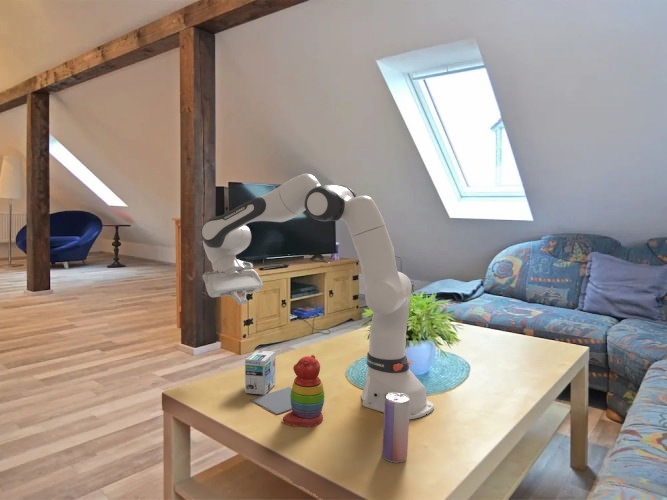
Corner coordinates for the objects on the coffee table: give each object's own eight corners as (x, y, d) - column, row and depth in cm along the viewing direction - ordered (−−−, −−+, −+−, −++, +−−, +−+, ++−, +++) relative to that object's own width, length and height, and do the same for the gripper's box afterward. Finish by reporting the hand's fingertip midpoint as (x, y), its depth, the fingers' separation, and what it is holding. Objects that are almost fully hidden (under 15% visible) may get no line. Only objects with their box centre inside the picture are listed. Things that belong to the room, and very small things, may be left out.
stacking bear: (299, 408, 145) (300, 348, 143) (330, 415, 141) (332, 354, 139) (279, 422, 135) (281, 359, 133) (312, 431, 131) (314, 366, 129)
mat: (316, 401, 150) (316, 399, 150) (277, 415, 140) (277, 413, 140) (289, 388, 159) (289, 386, 159) (250, 400, 149) (250, 399, 149)
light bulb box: (265, 395, 152) (265, 360, 151) (244, 393, 153) (244, 359, 152) (276, 383, 162) (276, 351, 161) (256, 381, 164) (256, 349, 163)
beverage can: (379, 460, 118) (382, 399, 116) (385, 448, 123) (388, 390, 122) (403, 466, 116) (407, 404, 114) (409, 454, 121) (412, 394, 119)
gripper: (204, 267, 163) (219, 301, 157) (255, 262, 177) (271, 294, 171) (197, 278, 167) (211, 312, 161) (248, 273, 181) (263, 305, 175)
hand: (243, 303), depth 166 cm, fingers closed
